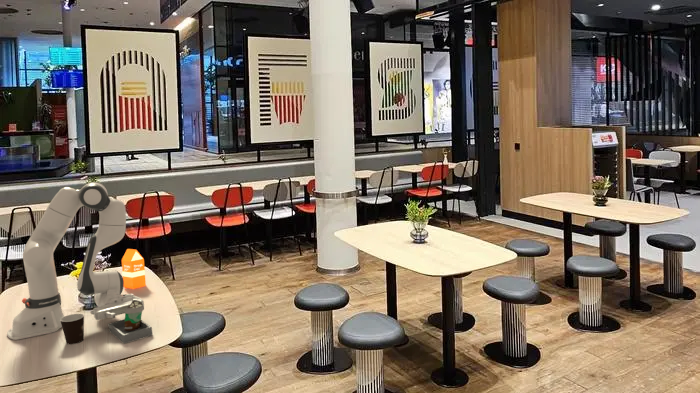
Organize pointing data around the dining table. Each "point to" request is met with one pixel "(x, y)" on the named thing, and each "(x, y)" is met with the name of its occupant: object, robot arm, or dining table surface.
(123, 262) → the orange juice
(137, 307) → the ice cream cake half
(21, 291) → the dining table surface
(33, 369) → the dining table surface
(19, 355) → the dining table surface
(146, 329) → the bin
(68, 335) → the coffee mug
